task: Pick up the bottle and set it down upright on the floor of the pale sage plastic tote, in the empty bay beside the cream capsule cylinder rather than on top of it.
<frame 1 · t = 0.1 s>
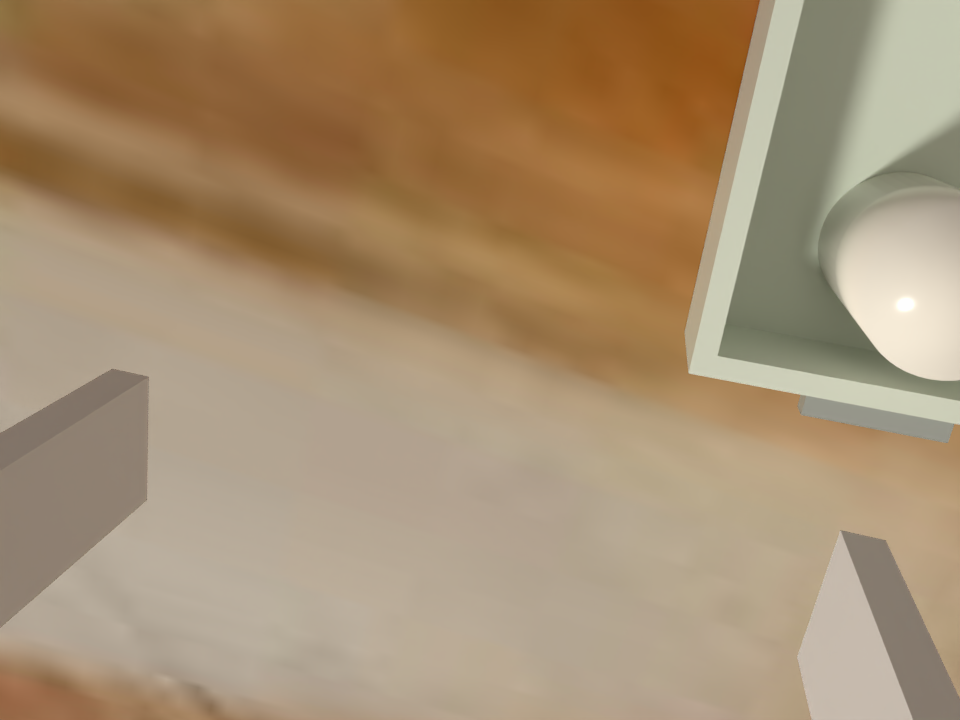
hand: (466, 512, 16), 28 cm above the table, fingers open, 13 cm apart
tote: (952, 31, 37), on the table
cream capsule cylinder: (893, 244, 39), point 1 cm above the table, touching tote
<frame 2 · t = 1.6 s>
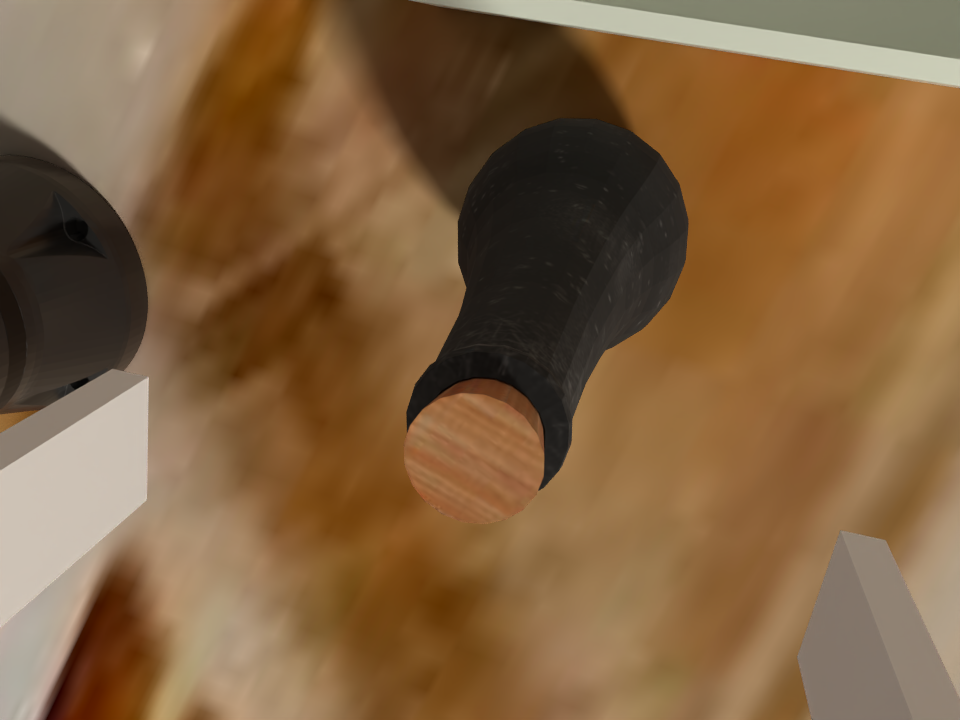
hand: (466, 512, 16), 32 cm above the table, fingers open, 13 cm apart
bottle: (582, 214, 46), on the table
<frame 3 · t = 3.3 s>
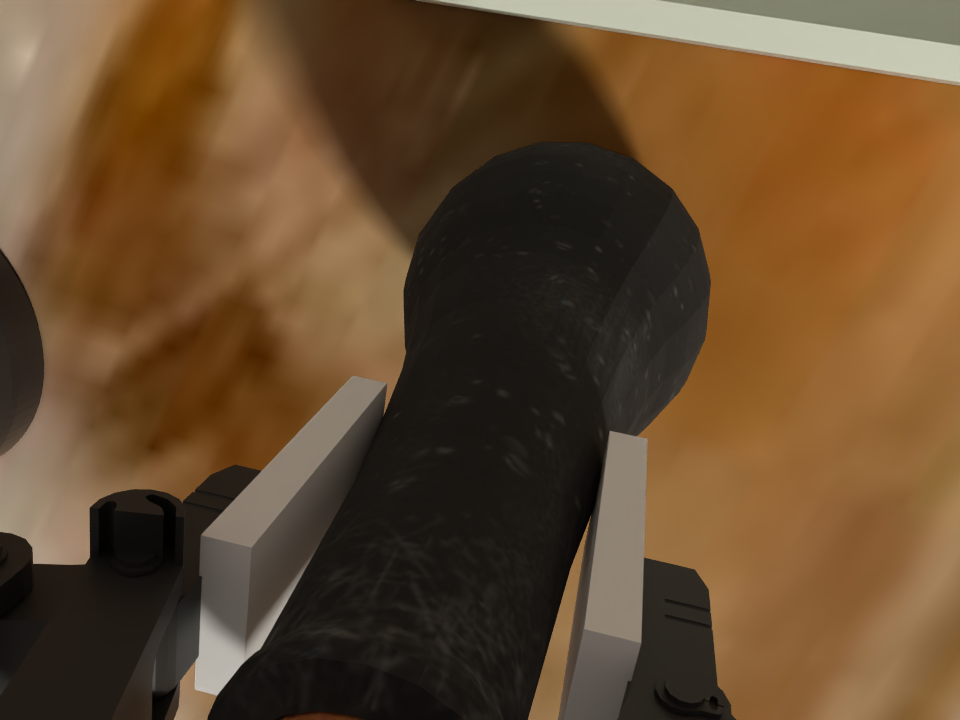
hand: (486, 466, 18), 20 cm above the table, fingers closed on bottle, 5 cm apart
bottle: (572, 258, 37), on the table, touching gripper
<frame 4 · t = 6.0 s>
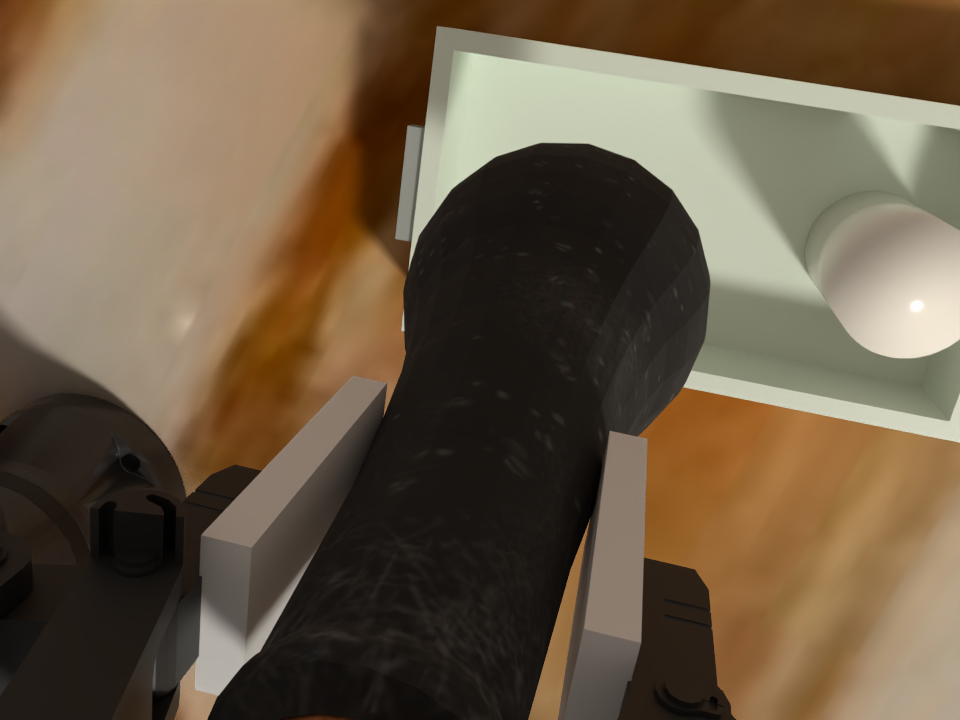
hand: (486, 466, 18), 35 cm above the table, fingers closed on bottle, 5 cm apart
tote: (699, 218, 50), on the table
bottle: (572, 259, 37), point 15 cm above the table, touching gripper
cream capsule cylinder: (866, 249, 48), point 1 cm above the table, touching tote
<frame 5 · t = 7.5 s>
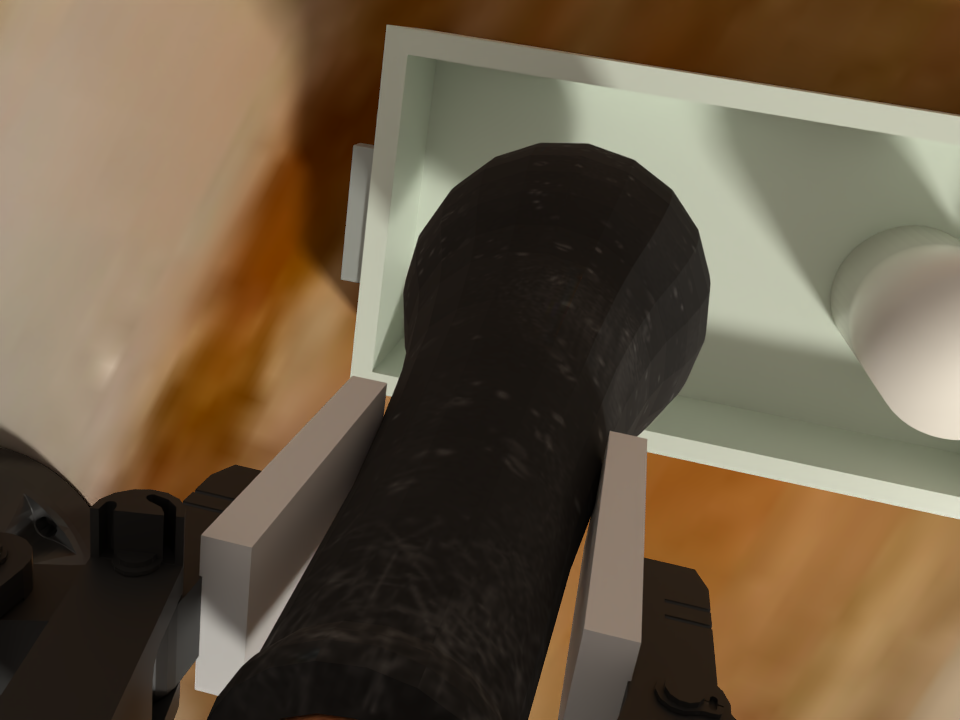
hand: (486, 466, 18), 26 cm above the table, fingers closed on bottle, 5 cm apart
tote: (705, 254, 42), on the table
bottle: (572, 259, 37), point 6 cm above the table, touching gripper
cream capsule cylinder: (904, 295, 40), point 1 cm above the table, touching tote
when the fingers open (22 cm above the table, at t = 8.6 s): bottle drops 2 cm, resting on tote.
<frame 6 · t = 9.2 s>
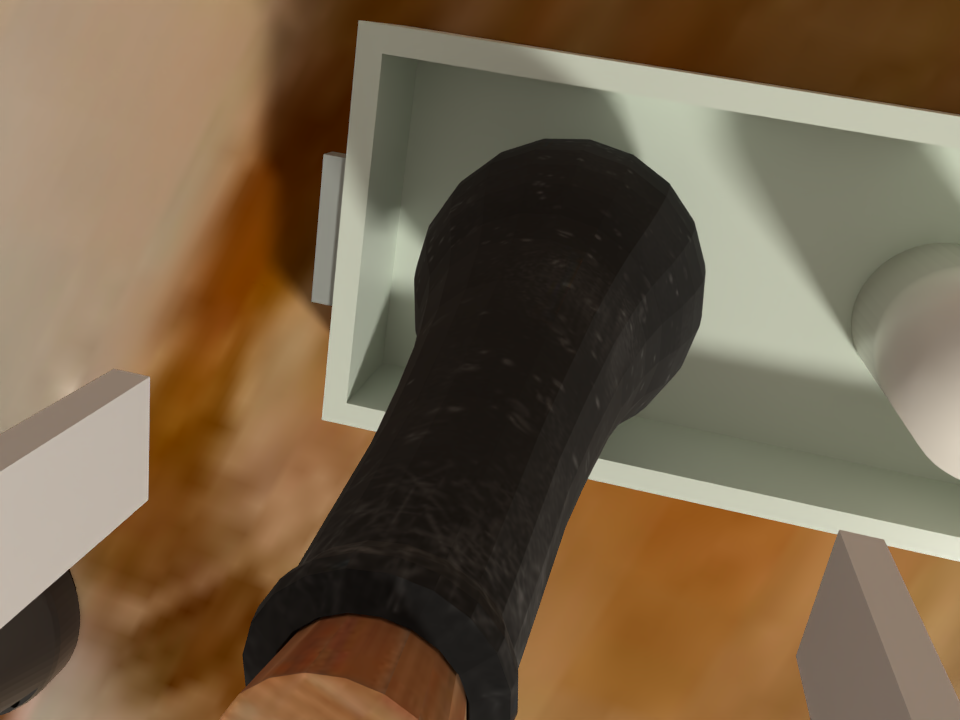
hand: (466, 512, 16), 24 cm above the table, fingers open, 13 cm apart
tote: (713, 273, 38), on the table
bottle: (575, 251, 38), point 1 cm above the table, touching tote
cream capsule cylinder: (933, 319, 36), point 1 cm above the table, touching tote
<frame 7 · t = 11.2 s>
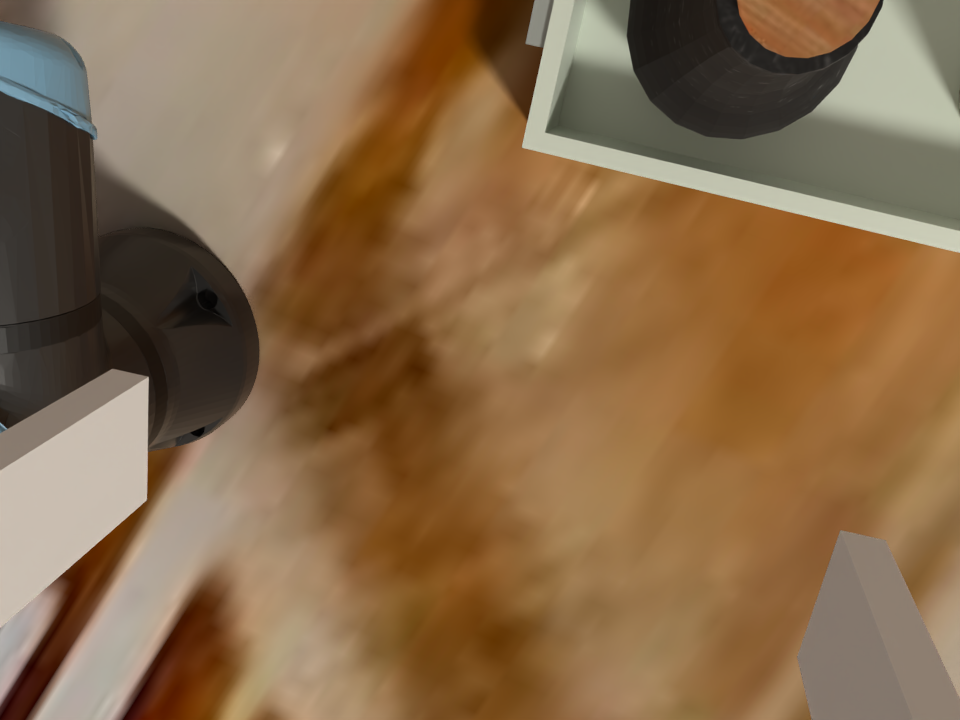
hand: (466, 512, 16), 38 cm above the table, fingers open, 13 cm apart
tote: (846, 51, 46), on the table
bottle: (733, 28, 47), point 1 cm above the table, touching tote
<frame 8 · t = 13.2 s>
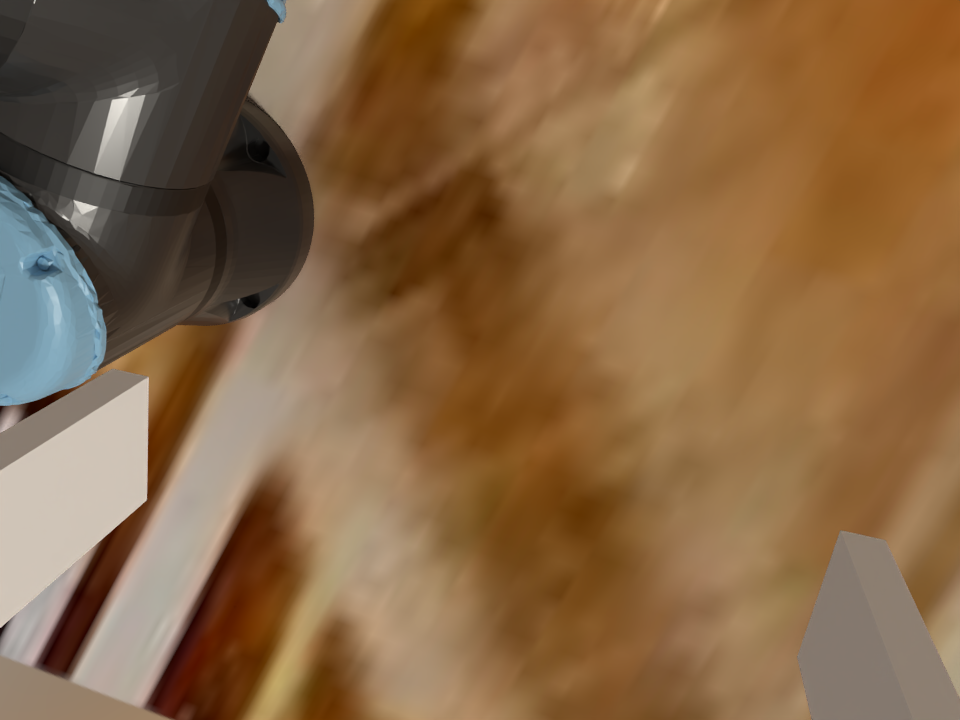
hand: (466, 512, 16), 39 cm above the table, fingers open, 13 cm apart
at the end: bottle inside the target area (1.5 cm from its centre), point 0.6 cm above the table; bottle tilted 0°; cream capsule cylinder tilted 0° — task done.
